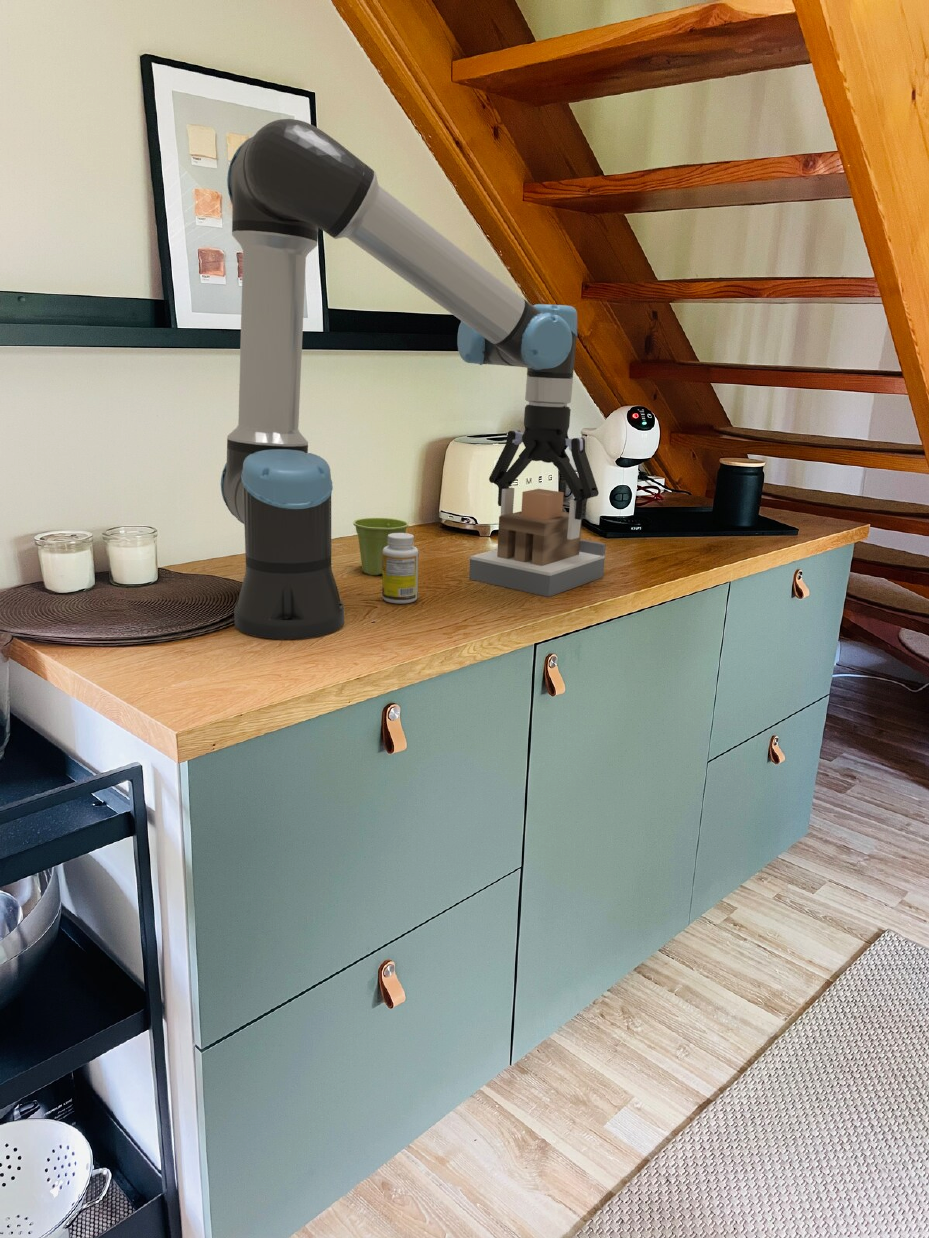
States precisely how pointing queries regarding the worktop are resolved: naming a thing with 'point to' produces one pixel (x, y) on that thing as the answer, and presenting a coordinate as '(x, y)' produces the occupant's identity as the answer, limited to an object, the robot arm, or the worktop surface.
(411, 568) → the supplement bottle
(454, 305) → the robot arm
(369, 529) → the plant pot
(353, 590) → the worktop surface
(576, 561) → the platform
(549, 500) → the terracotta orange block
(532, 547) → the pallet
